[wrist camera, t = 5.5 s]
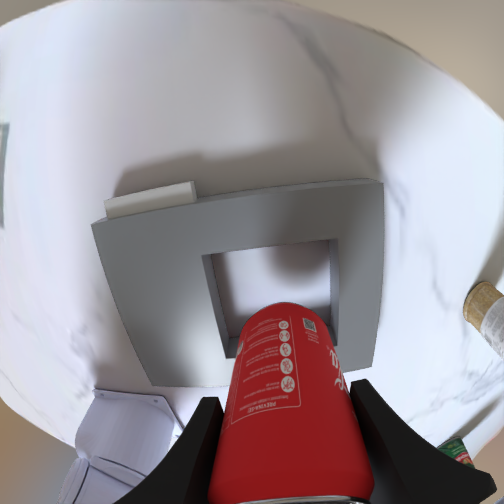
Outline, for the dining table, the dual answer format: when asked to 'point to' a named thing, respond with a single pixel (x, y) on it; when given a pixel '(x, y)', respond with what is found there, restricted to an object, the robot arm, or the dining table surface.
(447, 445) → the canned tomato
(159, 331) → the grey tray with recess
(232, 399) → the red soda can
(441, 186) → the dining table surface
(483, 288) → the sprinkles bottle
